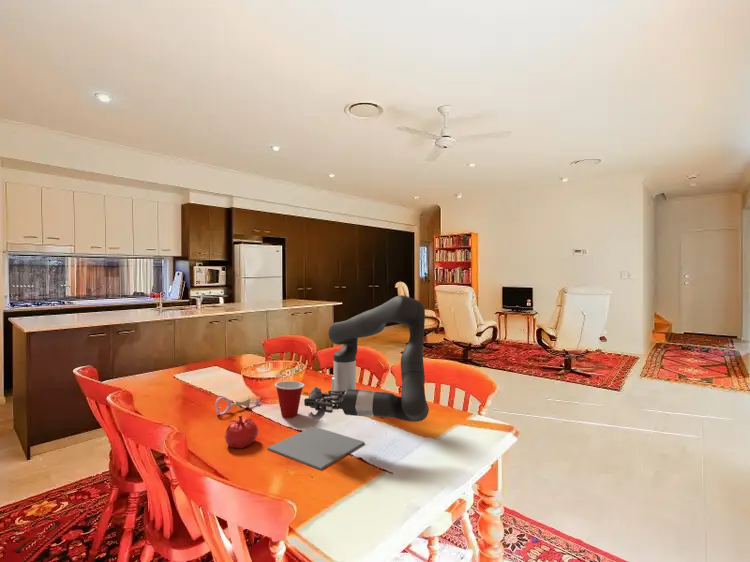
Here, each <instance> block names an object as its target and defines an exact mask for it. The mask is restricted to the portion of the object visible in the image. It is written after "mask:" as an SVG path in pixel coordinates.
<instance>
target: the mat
mask: <svg viewBox="0 0 750 562" xmlns="http://www.w3.org/2000/svg"><path fill="white" fill-rule="evenodd" d="M364 444H365V441H362V440H359V439H357V438H353V437H349V436H347V435H344V434H339V433H338V432H337V433H336V432H333V431H331V430H328V429H324V428H321V427H317V426H315V425H314V426H311V427H309V428H307V429H304V430H302V431H300V432H298V433H296V434H294V435H291V436H290V437H287V438H285V439H283V440H280V441H278V442H277V443H274V444H272V445H270V446H268V447H267V450H269V451H271V452H274V453H276V454H278V455H280V456H284V457H286V458H289V459H291V460H293V461H296V462H299V463H302V464H304V465H307V466H309V467H312V468H315V469H317V470H319V471H322V470H323V469H324V468H326V467H328V466H330V465H331V464H333V463H335V462H336V461H338V460H340V459H341V458H343V457H345V456H346V455H348V454H349V453H352V452H353V451H355V450H356V449H358V448H360V447H361V446H363V445H364Z"/></svg>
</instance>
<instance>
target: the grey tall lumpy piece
mask: <svg viewBox="0 0 750 562" xmlns="http://www.w3.org/2000/svg"><path fill="white" fill-rule="evenodd" d="M322 393H323V392H322V389H321V388H319V387H317V386H314V387H313V388H312V389H311V391H310V392H309V394H308V398H312V399H323V397H322ZM322 402H323V401H322ZM320 405H321V404H320ZM309 407H310V408H311V409H315V407H312V406H309ZM325 413H326V412H323V411H317V412H316V413H315V414H314V412H312V411H311V412H309V413H308V417H310V418H311V419H312V420H318V421H319V420H320V419H322V418H323V417H324V416H325V415H326V414H325Z"/></svg>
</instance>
